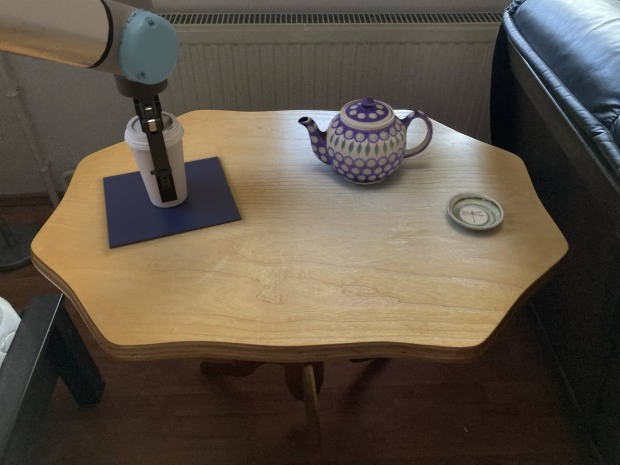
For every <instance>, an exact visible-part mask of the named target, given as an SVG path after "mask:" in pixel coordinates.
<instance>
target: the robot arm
mask: <svg viewBox="0 0 620 465" xmlns="http://www.w3.org/2000/svg"><path fill="white" fill-rule="evenodd" d="M0 53H2V54H6V55H7V54H8V55H12V56H18V57H24V58H27V59H29V60H33V61H47V62H52V63H57V64H63V65H69V66H74V67H81V68H84V69H87V70H93V71H98V72H104V73H108V74H109V73H110V74H113V78H114V82H115V84H116V85H115V86H116V89H117V92H118V93H119V94H120V95H121V96H123V97H125V98H128V99H132V102H133V106H134V110H135V116H138V117H139V121H140V125H141V129H142V132H143V133H146V136H147V140H148V144H149V148H150V153H151V157H152V161H153V165H154V170H151V171H150V173H151V175H154V174H155V176H156V181H157V185H158V189H159V193H160V197H161V201H162V203H165V202H170V201H175V200H178V198H177V194H176V189H175V184H174V180H173V175H172V169H171V166H170V164H169V159H168V155H167V150H166V146H165V141H164V137H163V132H162V130H163V129H164V124H163V120H162V115H161V113H162V111H163V108H162V104H161V101H160V97H159V95H160V94H162V93H163V92H165V90H166V89H167V87H168V85H169V81H168V77H170V75H171V74H172V73H173V72H174V70H175V68H176V66H177V64H178V58H179V53H180V41H179V36H178V34H177V31H176V29H175V28H174V26H173V25H172V23H170V21H169V20H168V19H166V18H164V17H163V16H161V15H158V14H155V9H154V4H153V0H0Z"/></svg>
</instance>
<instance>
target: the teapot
mask: <svg viewBox="0 0 620 465" xmlns="http://www.w3.org/2000/svg"><path fill="white" fill-rule="evenodd" d="M415 119H421V120H422V121H424V123H425V125H426V135H425V137H424V140H423V141H422V142H421V143H420V144H418V145H417V146H415V147H413V148H411V149H407V137H408V136H407V134H408V130H409V127H410V125H411V123H412V121H413V120H415ZM297 123H298V124H300V125H302V126H303V127H305V128H306V130H307V132H308V136H309V140H310V141H309V142H310V146H311V149H312V152H313V154H314V156H315V158H317V160H319V161H320V162H322V163H323V164H326V165H329V166H330V167H331V168H332V169H334V170H335V171H336V172H337V173H338V174H339V175H340V176H342V177H343V178H344V179H345V180H347V181H348V182H350V183H353V184H356V185H357V184H358V185H373V184H377V183H381V182H383V181H384V180H386V178H387V177H389V176H390V175H392V174H393V173H394V172H395V171H397V169H399V167H400V166H401V164H402V162H403V160H404V159H409V158H412V157H415V156H417V155H419V154H420V153H422V152H424V151H425V150H426V149H427V148H428V146H429V145H430V144H431V141H432V139H433V135H434V126H433V123H432V121H431V120H430V118H429V117H428V116H427V114H426V113H424V112H423V111H422V110H418V109H416V110H413V111H412V112H410V113H408V114H407V115H406V116H405V117H404V118H399V116H397V114H396V113H395V111H394V109H393V107H391V105H389V104H388V103H386V102H383V101H381V100H377V99H374V98H373V97H370V96H367V97H363V98H361V99H355V100H351V101H348V102H347V103H345V104H344V105H343V106H342V107H341V109H340V112H338V113H337V114H336V115H334V117H333V118H332V119H331V121H330V122H329V123H328V126H327V128H326V129H325V130H324V131H322V130H320V127H319V126H318V125H317V123H316V121H315V120H314V119H313V118H312V117H310V116H308V115H307V116H306V115H305V116H301V117H300V118H299V119H298V120H297Z"/></svg>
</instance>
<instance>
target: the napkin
mask: <svg viewBox="0 0 620 465" xmlns="http://www.w3.org/2000/svg"><path fill="white" fill-rule="evenodd" d="M184 165H185V176H186V186H187V197H186V199H185V200H184V201H183V202H182V203H180V204H179V205H176V206H173V207H167V208H164V207H158V206H156V205H154V204H153V203H152V202H151V199H150V197H149V194H148V191H147V189H146V186H145V184H144V181H143V178H142V176H141V173H140V170H137V171H131V172H126V173H119V174H115V175H109V176H104V177H102V183H103V193H104V205H105V206H104V207H105V216H106V228H107V239H108V248H109V249H114V248H118V247H119V248H120V247H123V246H128V245H132V244H133V245H134V244H137V243H142V242H146V241H151V240H154V239H155V240H156V239H160V238H164V237H168V236H173V235H177V234H183V233H188V232H191V231H197V230H201V229H205V228H209V227H213V226H214V227H215V226H219V225H223V224H224V225H225V224H227V223H233V222H237V221H241V220H242V216H241V213H240V211H239V209H238V205H237V203H236V201H235V199H234V198H235V197H234V195H233V193H232V190H231V188H230V184H229V183H228V180H227V177H226V175H225V172H224V169H223V167H222V165H221V162H220V159H219V157H218V155H217V156H211V157H206V158H201V159H195V160H190V161H184Z"/></svg>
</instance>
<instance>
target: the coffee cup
mask: <svg viewBox="0 0 620 465" xmlns="http://www.w3.org/2000/svg"><path fill="white" fill-rule="evenodd" d="M161 115H162V120H163V124H164V129H163V130H162V132H163V137H164V141H165V146H166V150H167V155H168V159H169V164H170V166H171V169H172V175H173V180H174V184H175V189H176V194H177V198H178V200H175V201H170V202H165V203H162V201H161V197H160V193H159V189H158V185H157V181H156V176H155V174H154V175H151V173H150V171H151V170H154V165H153V161H152V157H151V153H150V148H149V144H148V140H147V136H146V133H143V132H142V129H141V125H140V121H139V117H138V116H137V115H135V116H134V117H132V118H130V120H129V121H128V122H127V125H126V129H125V131H124V142H125V144H126V145H127V146H129V147H130V149H131V152H132V155H133V157H134V161H135V163H136V165H137V168H138V171H140V173H141V176H142V178H143V181H144V184H145V186H146V189H147V191H148V194H149V197H150V199H151V202H152V203H153V204H154V205H156V206H158V207H164V208H167V207H173V206H176V205H179V204H180V203H182V202H183V201H184V200H185V199H186V197H187V186H186V176H185V165H184V162H185V156H184V154H185V153H184V142H183V138H184V136H185V129H184V126H183V124H182V123H181V122H180V121H179V120H178V119H177V117H176V116H175V115H174V114H173V113H170V112H168V111H164V110H162V113H161Z"/></svg>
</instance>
